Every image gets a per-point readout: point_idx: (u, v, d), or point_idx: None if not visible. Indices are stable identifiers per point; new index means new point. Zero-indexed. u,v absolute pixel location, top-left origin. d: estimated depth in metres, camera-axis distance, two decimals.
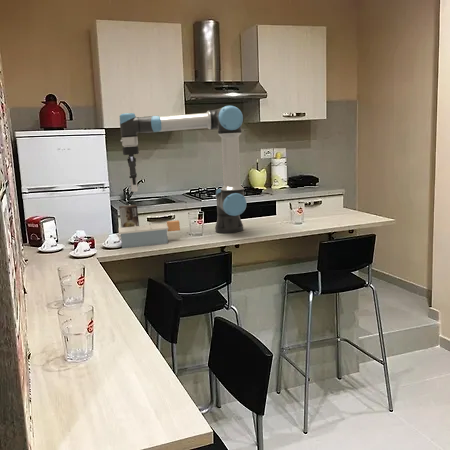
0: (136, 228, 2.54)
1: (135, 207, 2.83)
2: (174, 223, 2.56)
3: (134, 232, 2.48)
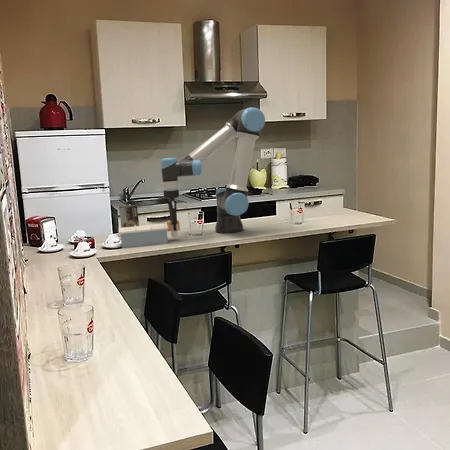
0: (136, 228, 2.54)
1: (135, 207, 2.83)
2: None
3: (134, 232, 2.48)
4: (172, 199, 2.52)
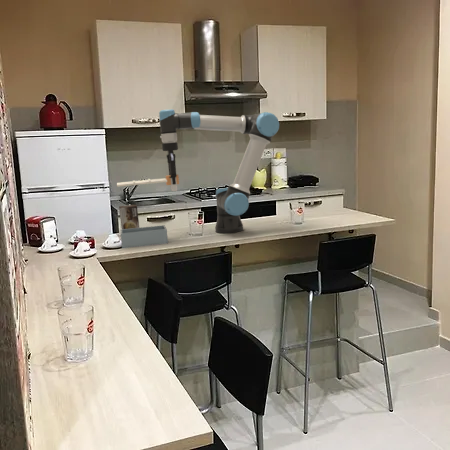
0: None
1: (135, 207, 2.83)
2: None
3: None
4: (171, 151, 2.48)
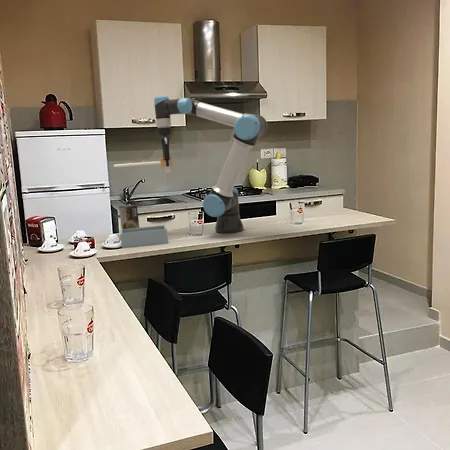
0: None
1: (135, 207, 2.83)
2: None
3: None
4: (165, 135, 2.65)
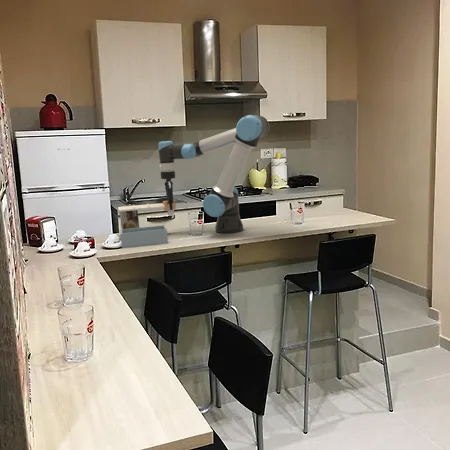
0: (134, 207, 2.71)
1: None
2: None
3: (132, 210, 2.65)
4: (169, 180, 2.69)
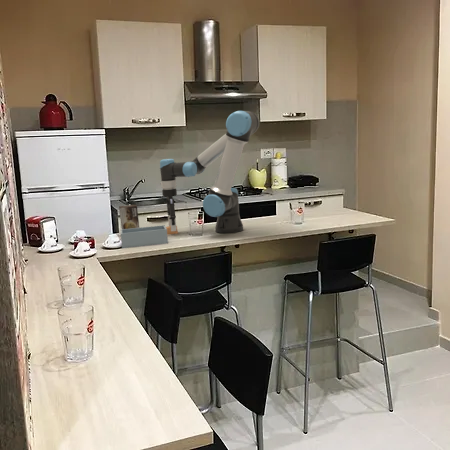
0: None
1: (135, 207, 2.83)
2: None
3: None
4: None
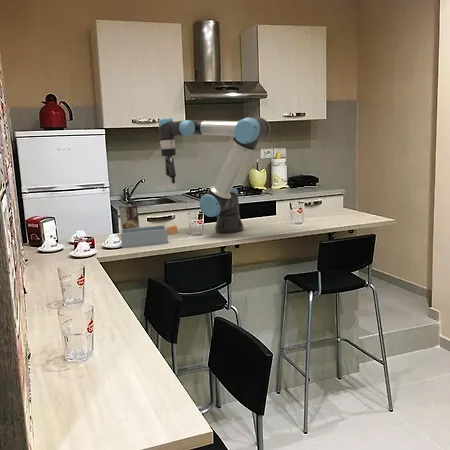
0: None
1: (135, 207, 2.83)
2: (172, 228, 2.75)
3: None
4: None
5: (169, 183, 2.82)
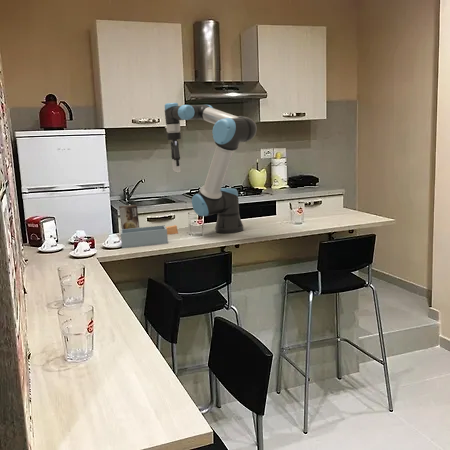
0: None
1: (135, 207, 2.83)
2: (172, 228, 2.75)
3: None
4: None
5: (174, 166, 2.91)
